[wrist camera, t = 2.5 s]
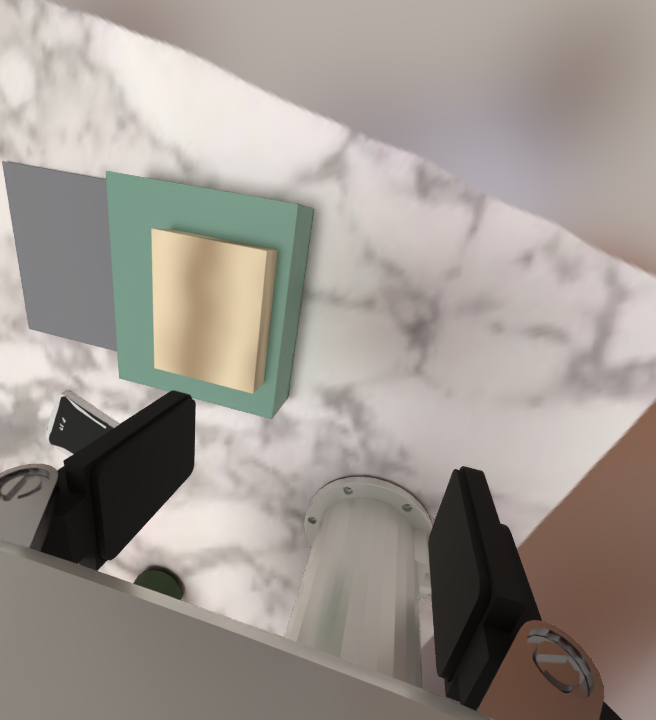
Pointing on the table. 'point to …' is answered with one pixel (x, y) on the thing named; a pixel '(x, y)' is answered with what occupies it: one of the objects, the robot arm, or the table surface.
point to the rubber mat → (63, 252)
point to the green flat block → (214, 219)
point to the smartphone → (76, 424)
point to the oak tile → (212, 307)
